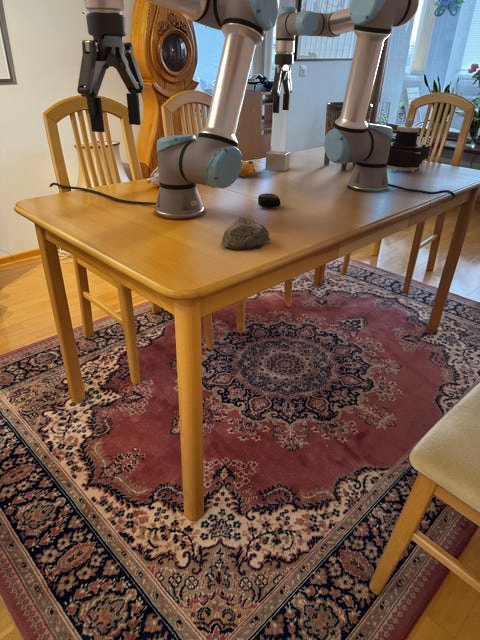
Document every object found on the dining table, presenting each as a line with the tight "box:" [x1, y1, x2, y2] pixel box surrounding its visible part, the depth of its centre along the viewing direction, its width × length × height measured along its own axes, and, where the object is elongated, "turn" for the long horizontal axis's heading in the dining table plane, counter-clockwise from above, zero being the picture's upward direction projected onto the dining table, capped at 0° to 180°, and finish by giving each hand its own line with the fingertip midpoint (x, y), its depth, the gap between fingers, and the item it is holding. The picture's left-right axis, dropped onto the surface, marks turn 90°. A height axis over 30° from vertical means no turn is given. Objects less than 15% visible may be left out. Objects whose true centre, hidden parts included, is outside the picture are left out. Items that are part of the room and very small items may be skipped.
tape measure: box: [257, 192, 281, 209], centre depth 151 cm, size 7×7×4 cm
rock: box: [221, 216, 270, 250], centre depth 119 cm, size 13×9×6 cm, turn 131°
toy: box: [238, 160, 256, 178], centre depth 191 cm, size 11×6×15 cm
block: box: [264, 149, 291, 173], centre depth 202 cm, size 7×9×7 cm
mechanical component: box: [386, 118, 432, 173], centre depth 206 cm, size 22×21×30 cm
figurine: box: [145, 166, 159, 186], centre depth 170 cm, size 8×15×13 cm, turn 145°
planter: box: [323, 101, 374, 172], centre depth 204 cm, size 20×20×26 cm
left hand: (117, 128), depth 101 cm, fingers open, 13 cm apart
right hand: (280, 111), depth 192 cm, fingers open, 13 cm apart
